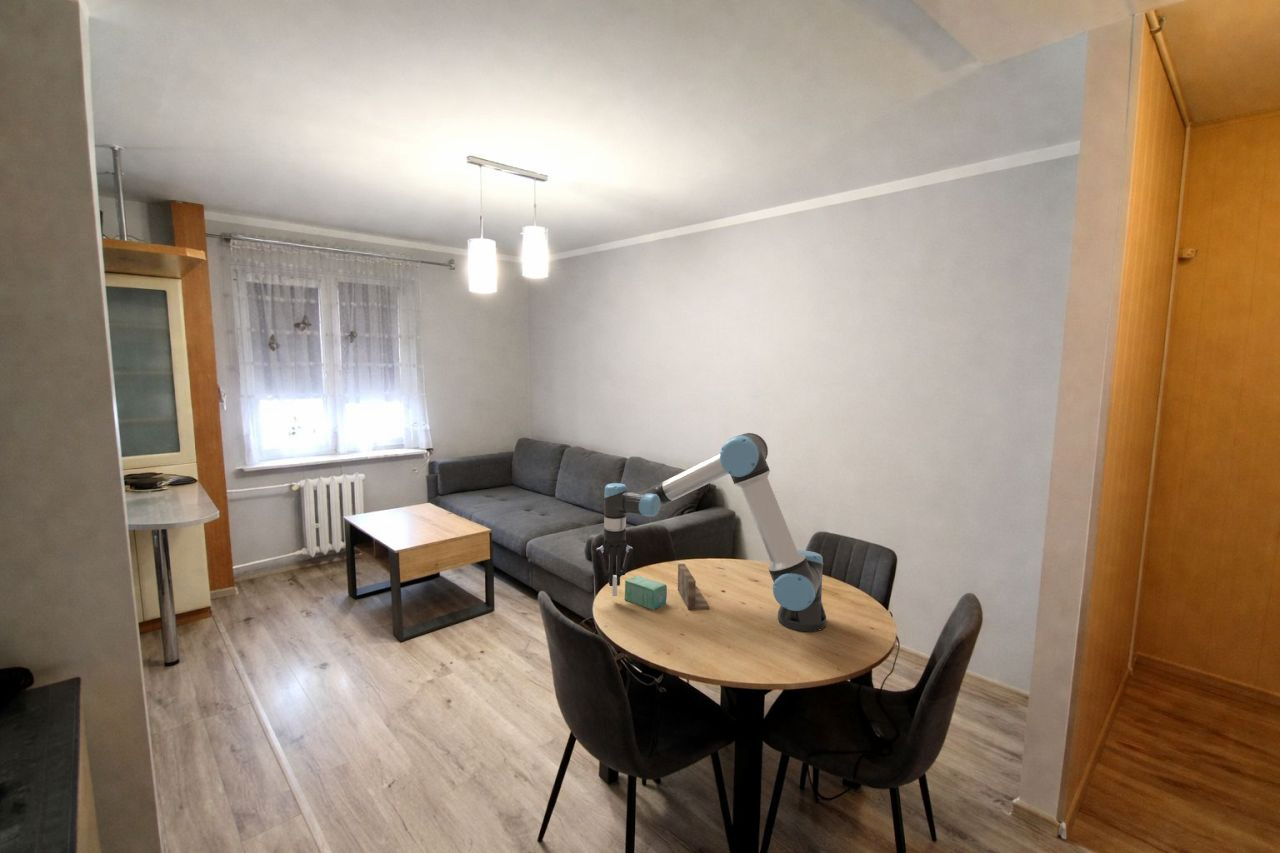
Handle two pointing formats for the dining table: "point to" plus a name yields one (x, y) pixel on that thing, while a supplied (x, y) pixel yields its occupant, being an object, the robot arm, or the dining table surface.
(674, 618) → the dining table surface
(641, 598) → the box
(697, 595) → the walnut angle bracket
